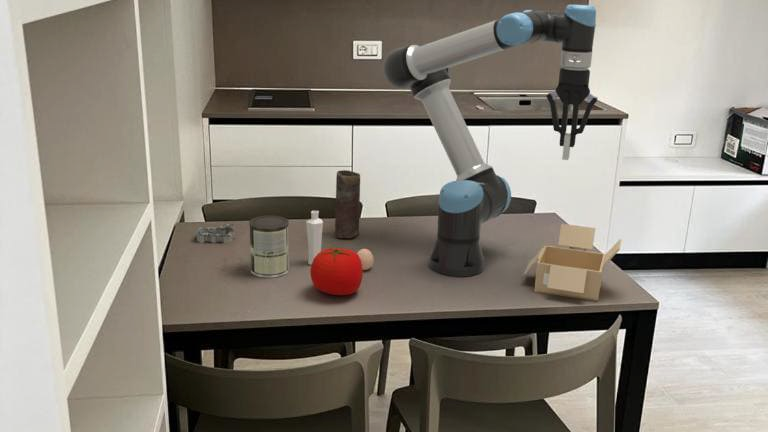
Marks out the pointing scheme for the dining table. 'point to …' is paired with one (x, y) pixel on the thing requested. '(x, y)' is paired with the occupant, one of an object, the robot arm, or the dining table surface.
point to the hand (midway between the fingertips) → (565, 158)
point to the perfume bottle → (314, 235)
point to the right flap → (612, 252)
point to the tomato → (337, 271)
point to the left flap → (533, 261)
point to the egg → (365, 258)
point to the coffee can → (269, 246)
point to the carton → (574, 260)
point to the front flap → (567, 278)
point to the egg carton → (216, 234)
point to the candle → (347, 204)
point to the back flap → (576, 236)
